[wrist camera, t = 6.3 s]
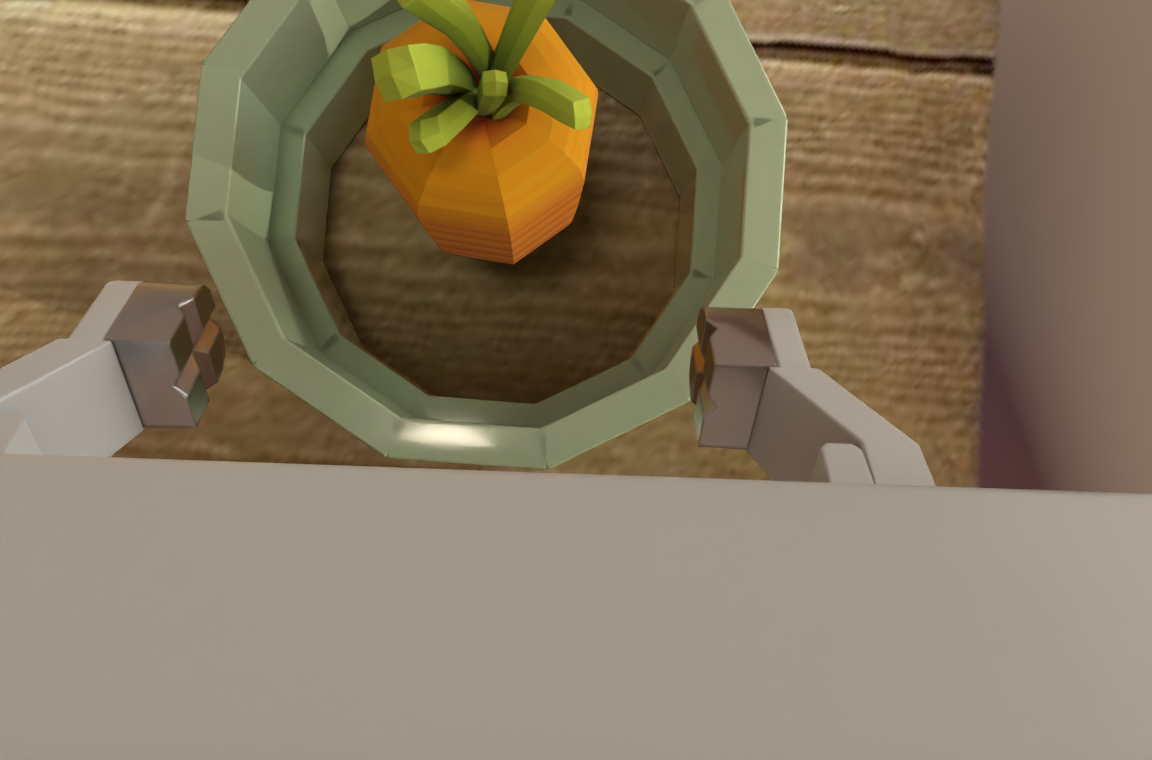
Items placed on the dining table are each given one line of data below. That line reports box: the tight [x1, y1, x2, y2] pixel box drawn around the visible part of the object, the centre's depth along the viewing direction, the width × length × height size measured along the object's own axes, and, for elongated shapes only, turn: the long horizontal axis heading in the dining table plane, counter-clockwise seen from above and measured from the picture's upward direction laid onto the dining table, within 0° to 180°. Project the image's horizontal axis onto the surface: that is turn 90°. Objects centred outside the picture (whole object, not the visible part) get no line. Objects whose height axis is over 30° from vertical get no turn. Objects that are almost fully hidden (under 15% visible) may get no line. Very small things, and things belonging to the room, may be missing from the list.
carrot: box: [365, 0, 598, 265], centre depth 21 cm, size 5×5×15 cm
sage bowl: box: [185, 0, 788, 470], centre depth 25 cm, size 15×15×7 cm
